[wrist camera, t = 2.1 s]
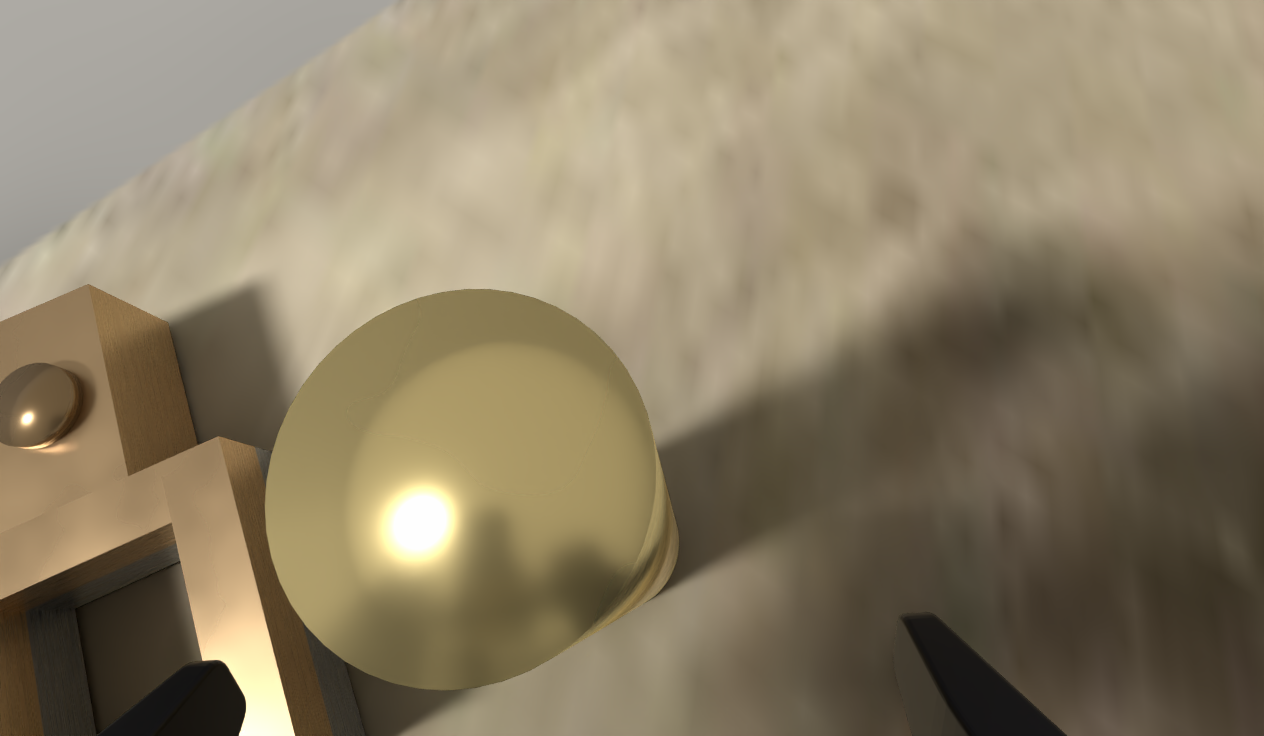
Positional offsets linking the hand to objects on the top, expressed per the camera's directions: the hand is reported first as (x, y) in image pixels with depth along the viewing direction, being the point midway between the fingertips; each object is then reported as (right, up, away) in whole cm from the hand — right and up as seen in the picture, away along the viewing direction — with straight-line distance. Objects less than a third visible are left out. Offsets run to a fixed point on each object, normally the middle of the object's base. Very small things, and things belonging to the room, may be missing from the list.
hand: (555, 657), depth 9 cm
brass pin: (0, -1, +10) cm, 10 cm away
